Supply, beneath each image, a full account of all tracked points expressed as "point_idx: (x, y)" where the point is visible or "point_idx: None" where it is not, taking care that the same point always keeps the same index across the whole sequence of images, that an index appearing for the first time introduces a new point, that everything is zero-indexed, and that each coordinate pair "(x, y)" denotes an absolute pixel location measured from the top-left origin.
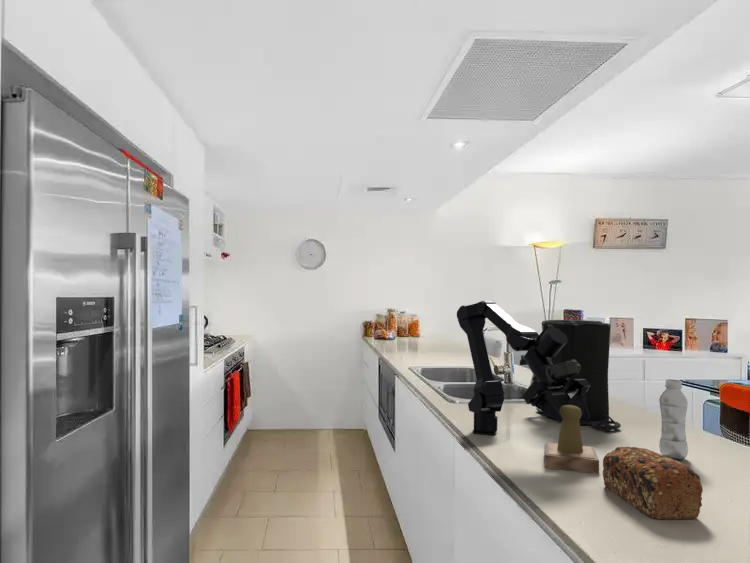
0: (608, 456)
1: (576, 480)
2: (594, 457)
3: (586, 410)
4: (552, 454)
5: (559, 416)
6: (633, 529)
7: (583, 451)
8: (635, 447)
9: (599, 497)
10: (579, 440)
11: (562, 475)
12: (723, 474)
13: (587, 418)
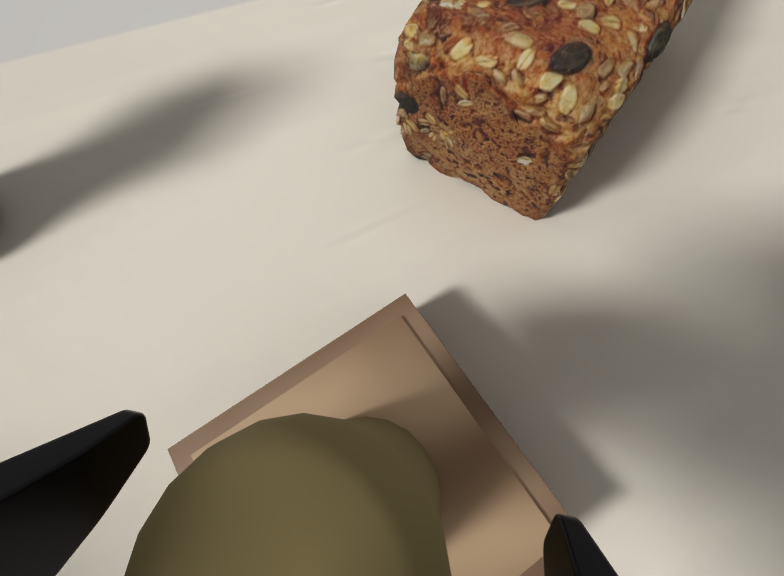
0: (618, 100)
1: (577, 321)
2: (387, 326)
3: (70, 453)
4: (544, 519)
5: (606, 565)
6: (766, 32)
7: None
8: (485, 13)
9: (654, 180)
10: (360, 425)
11: (579, 397)
12: (80, 79)
13: (143, 436)
